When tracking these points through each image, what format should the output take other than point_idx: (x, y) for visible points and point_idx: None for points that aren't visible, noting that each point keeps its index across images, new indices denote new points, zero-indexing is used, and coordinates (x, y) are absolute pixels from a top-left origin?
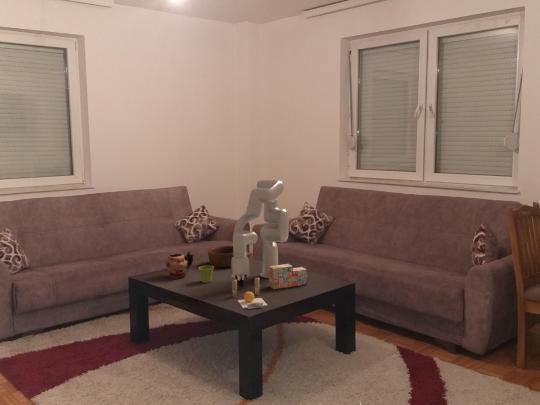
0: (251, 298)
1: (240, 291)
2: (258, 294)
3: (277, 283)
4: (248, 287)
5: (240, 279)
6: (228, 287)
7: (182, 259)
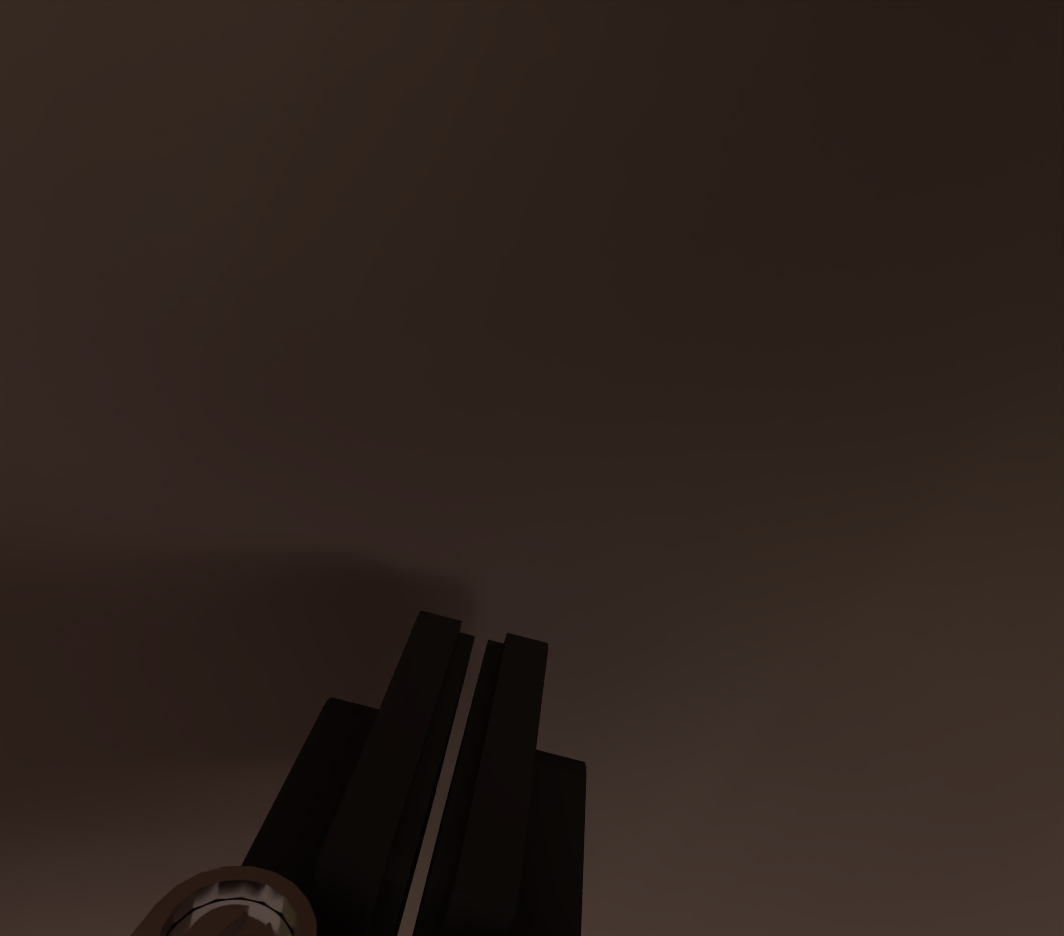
0: None
1: None
2: None
3: None
4: (851, 642)
5: (426, 933)
6: (90, 160)
7: None
